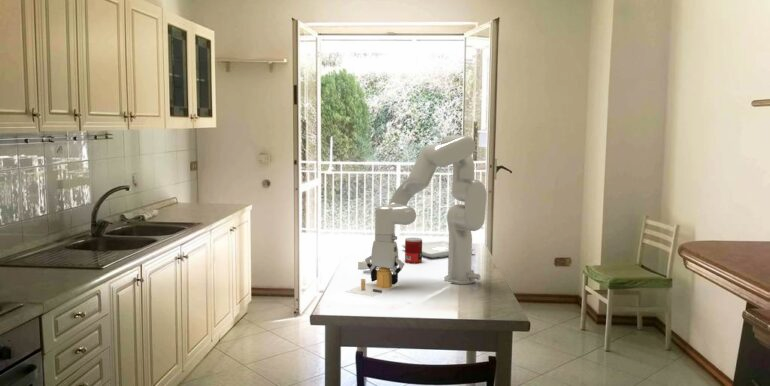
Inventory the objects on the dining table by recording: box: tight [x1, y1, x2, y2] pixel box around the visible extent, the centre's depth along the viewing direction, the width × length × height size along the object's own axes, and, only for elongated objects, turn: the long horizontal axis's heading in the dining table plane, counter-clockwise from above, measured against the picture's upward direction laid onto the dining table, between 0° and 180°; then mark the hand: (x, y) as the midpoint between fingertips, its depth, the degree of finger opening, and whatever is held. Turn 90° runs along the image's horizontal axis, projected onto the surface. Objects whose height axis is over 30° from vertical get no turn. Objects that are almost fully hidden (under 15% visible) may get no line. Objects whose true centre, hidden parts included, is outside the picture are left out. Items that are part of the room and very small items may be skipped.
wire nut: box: [376, 267, 393, 288], centre depth 238 cm, size 6×6×7 cm
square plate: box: [401, 240, 475, 259], centre depth 312 cm, size 27×27×4 cm
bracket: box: [357, 258, 380, 270], centre depth 276 cm, size 13×7×8 cm, turn 80°
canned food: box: [404, 237, 423, 265], centre depth 289 cm, size 8×8×11 cm
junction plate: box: [345, 278, 399, 297], centre depth 235 cm, size 12×20×6 cm, turn 150°
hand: (384, 282), depth 238 cm, fingers open, 8 cm apart
